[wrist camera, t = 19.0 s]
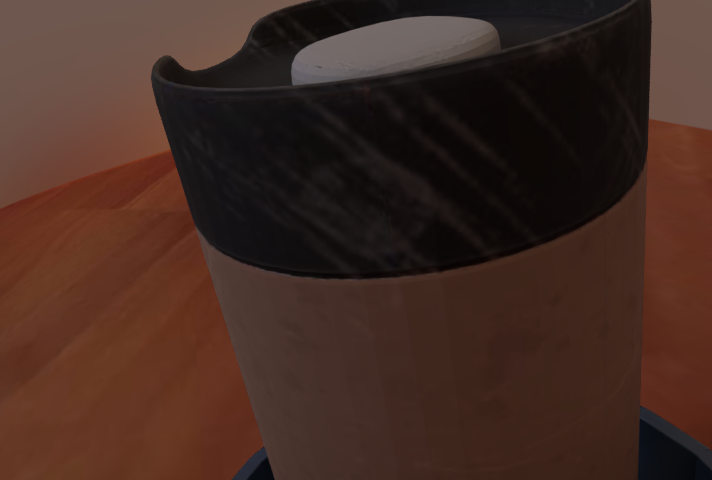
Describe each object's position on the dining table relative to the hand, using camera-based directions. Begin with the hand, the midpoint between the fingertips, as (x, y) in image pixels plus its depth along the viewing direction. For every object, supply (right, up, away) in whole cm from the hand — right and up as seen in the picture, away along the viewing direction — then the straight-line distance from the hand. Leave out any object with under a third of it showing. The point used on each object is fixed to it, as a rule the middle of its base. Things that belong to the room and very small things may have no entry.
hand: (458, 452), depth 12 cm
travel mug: (+2, -10, +7) cm, 13 cm away
